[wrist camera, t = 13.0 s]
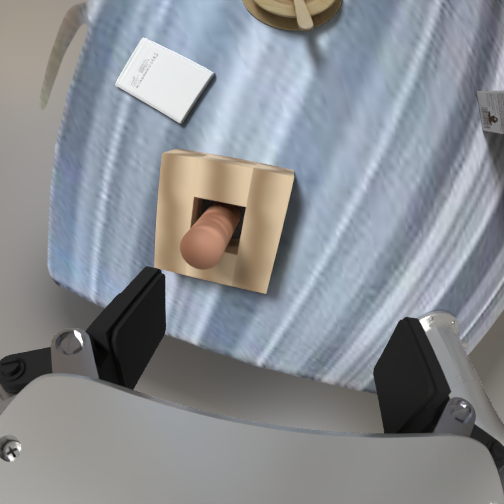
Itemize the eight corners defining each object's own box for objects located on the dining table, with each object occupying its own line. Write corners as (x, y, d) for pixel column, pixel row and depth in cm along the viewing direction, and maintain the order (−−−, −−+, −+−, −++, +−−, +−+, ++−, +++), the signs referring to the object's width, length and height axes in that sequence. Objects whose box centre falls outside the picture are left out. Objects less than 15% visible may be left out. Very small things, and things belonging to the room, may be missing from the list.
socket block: (293, 170, 37) (294, 177, 33) (268, 275, 44) (266, 293, 40) (177, 148, 38) (162, 153, 33) (167, 252, 45) (154, 267, 40)
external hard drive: (183, 123, 37) (119, 86, 35) (216, 74, 33) (147, 39, 31) (179, 124, 35) (113, 85, 33) (213, 72, 32) (142, 36, 30)
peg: (243, 202, 40) (224, 235, 29) (237, 232, 42) (218, 273, 31) (211, 195, 40) (181, 225, 29) (207, 225, 42) (178, 264, 31)
